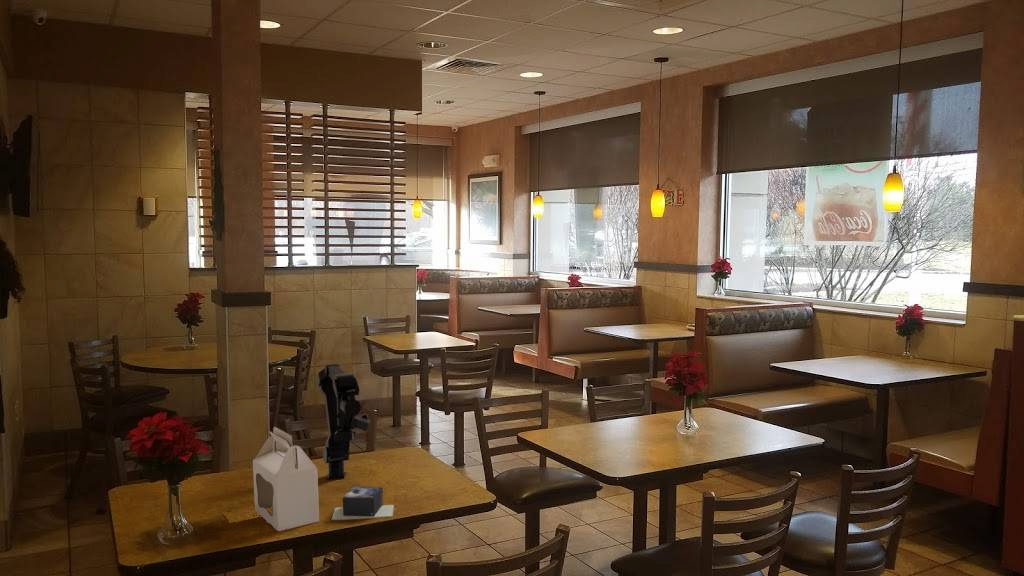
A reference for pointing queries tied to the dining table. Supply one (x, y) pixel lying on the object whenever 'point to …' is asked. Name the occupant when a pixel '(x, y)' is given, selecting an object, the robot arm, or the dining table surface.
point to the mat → (382, 512)
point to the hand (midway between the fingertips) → (346, 454)
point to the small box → (362, 501)
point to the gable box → (285, 483)
